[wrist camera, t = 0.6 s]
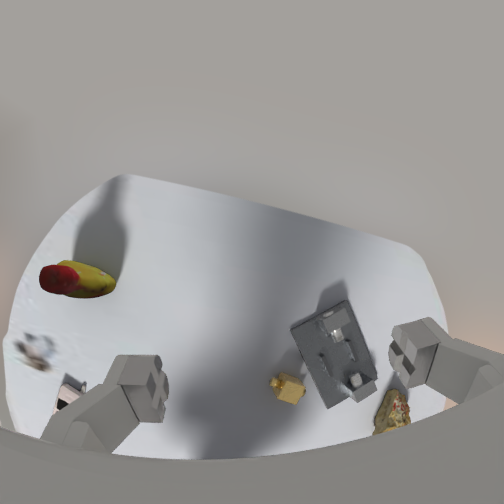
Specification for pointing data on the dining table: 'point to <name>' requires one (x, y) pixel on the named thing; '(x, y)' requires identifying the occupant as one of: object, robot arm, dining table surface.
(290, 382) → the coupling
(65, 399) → the mobile phone
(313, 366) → the dark grey baseplate
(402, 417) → the rock
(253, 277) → the dining table surface
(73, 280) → the red yellow oblong piece
